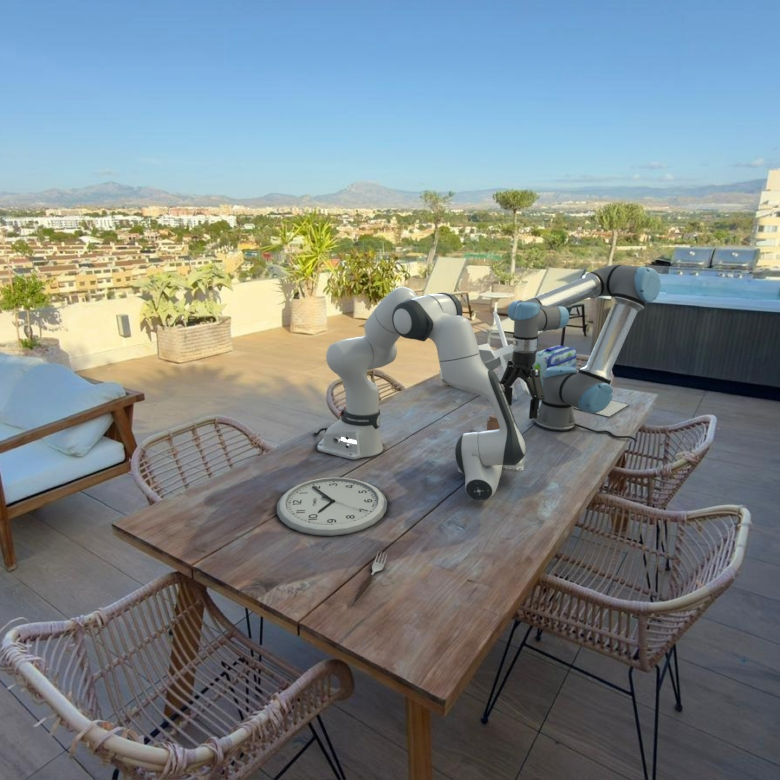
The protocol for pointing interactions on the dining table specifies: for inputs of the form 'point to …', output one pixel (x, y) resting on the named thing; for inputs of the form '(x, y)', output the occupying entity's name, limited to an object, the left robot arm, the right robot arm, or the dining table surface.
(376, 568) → the fork
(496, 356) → the white plastic object
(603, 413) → the invitation card
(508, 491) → the dining table surface
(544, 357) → the lunch box
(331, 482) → the wall clock
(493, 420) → the bottle
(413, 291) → the left robot arm
